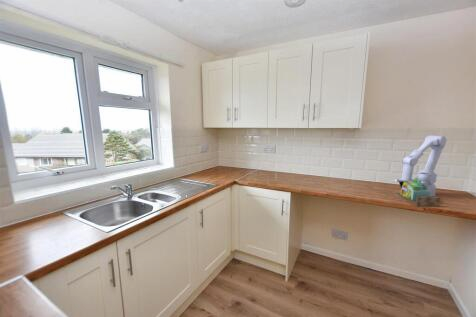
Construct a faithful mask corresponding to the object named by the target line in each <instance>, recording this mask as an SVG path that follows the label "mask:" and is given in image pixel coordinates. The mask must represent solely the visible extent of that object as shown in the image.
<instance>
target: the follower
mask: <svg viewBox="0 0 476 317" xmlns="http://www.w3.org/2000/svg"><path fill="white" fill-rule="evenodd" d="M417 197H431V196H430V191H428V190H412V193H411V199H412V200H414V201H416V199H417Z"/></svg>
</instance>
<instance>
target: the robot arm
mask: <svg viewBox="0 0 476 317" xmlns="http://www.w3.org/2000/svg"><path fill="white" fill-rule="evenodd" d="M447 140H448V139H447V137H446V136H445V135H431V134H428V135H427V136H425V138H424V142H423V143H422V144H421V145H420V146H419V148H417V149H414V150H413V151H412V152H411V153H410V154H409V155H408V156H404V157H403V158H402V171H401V178H395V179H394V182H395V183H399V187H400V189H401V188H402V185H403V183H404V181H414V179H412V178H413V173H414V169H415V166H417V164H418V161H419V159H420V158H422V156H423V155H424V152H425V151H426V150H427V149H429V148H431V150H430V152H429V153H430V154H429V156H428V159H427V161H426V164H425V166H424V169H422V170H419V172H418V173H417V174H416V177H415V178H417V179H419V180H421V183H422V184H423V185H425V186H426V187H427V189H426V190H428V191H430V197H437V196H436V189H437V186H436V184H435V183H436V182H437V176H438V174H437V173H436V172H435V169H436V167H437V163H438V161H439V158H440V156H441V155H442V152H443V149H444V148H445V146H446V143H447ZM416 181H417V180H416Z"/></svg>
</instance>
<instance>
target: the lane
mask: <svg viewBox="0 0 476 317" xmlns="http://www.w3.org/2000/svg"><path fill="white" fill-rule="evenodd" d="M394 197H396V198H398V199H400V200H403V201H404V200H405V201H404V202H406V201H407V202H406V203H409V204H410V205H412V206H415V207H439V206H440V199H441V197H440V196H430V197H417V199H416V201H414V200H412V199H409V198H407V197H405V196H403V195H400V194H399V193H398V192H394Z"/></svg>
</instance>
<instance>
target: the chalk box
mask: <svg viewBox="0 0 476 317" xmlns="http://www.w3.org/2000/svg"><path fill="white" fill-rule="evenodd" d="M413 180H414V181H404V183H403V185H402V188H401V187H400V190H399V193H398V194H400V195H403V196H405V197H407V198H409V199H411V193H412V190H426V189H427V187H426V186H425V185H423V184H422V183H421V180H419V179H417V178H416V177H415V178H414V179H413ZM416 180H417V181H416Z"/></svg>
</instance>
